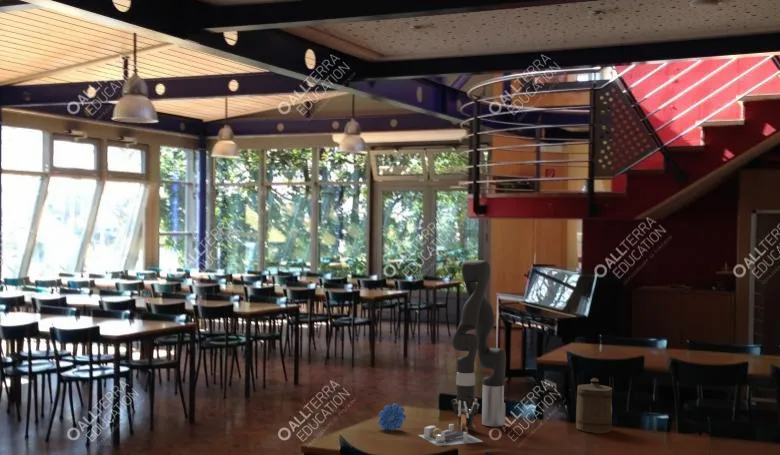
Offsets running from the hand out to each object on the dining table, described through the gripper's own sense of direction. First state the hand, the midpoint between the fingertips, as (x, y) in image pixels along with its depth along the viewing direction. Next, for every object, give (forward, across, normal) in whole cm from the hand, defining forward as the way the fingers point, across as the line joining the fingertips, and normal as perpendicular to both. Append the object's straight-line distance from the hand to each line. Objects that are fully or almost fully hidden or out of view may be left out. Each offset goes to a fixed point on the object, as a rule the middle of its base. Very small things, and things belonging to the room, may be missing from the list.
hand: (465, 426), depth 318 cm
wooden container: (+6, -25, -56) cm, 61 cm away
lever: (+3, 0, +9) cm, 9 cm away
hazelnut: (+4, +5, +12) cm, 13 cm away
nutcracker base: (+5, +2, +8) cm, 9 cm away
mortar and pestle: (+5, +8, -11) cm, 15 cm away
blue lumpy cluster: (+5, +28, +14) cm, 31 cm away
